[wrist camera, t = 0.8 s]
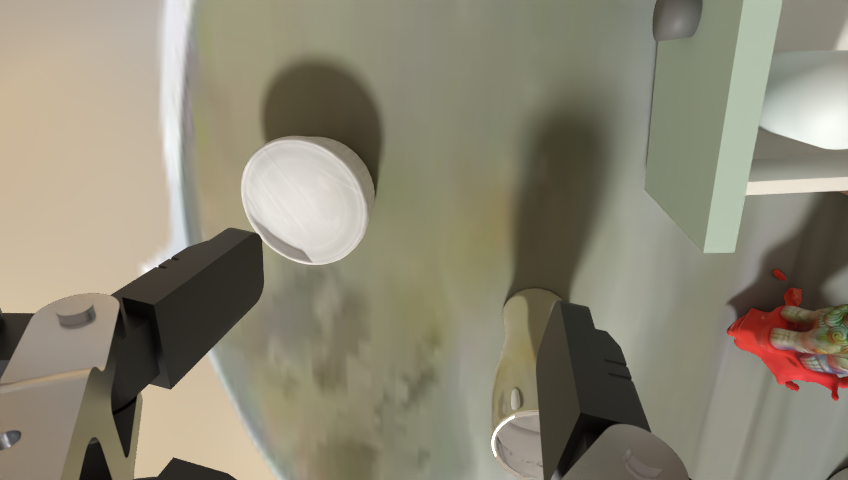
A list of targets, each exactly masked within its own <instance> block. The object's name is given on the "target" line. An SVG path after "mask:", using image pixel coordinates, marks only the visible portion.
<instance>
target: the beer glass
mask: <svg viewBox="0 0 848 480" xmlns="http://www.w3.org/2000/svg"><path fill="white" fill-rule="evenodd" d="M557 300H559V301H563V300H562V299H561V298H560V297H559V296H557V295H556V294H554V293H552V292H550V291H548V290H545V289H539V288H530V289H525V290H522V291H519V292H517V293H515V294H514V295H512V296H511V297H510V298H509V299H508V301H507V302H506V304H505V306H504V309H503V323H504V327H505V331H506V338H505V342H504V345H503V348H502V350H501V353H500V356H499V359H498V362H497V366H496V369H495V373H494V377H493V384H492V392H491V448H492V452H493V454H494V456H495V458H496V460H497V461H498V462H499V464H500V465H501V466H502V467H503V468H504V469H505V470H507V471H508V472H509V473H511V474H512V475H514V476H516V477H518V478H520V479H522V480H544V476H543V463H542V449H541V436H540V422H539V408H538V395H537V381H536V361H537V355H538V350H539V347H540V344H541V341H542V338H543V335H544V332H545V329H546V326H547V323H548V320H549V317H550V315H551V312H552V309H553V306H554V304H555V302H556V301H557Z"/></svg>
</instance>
